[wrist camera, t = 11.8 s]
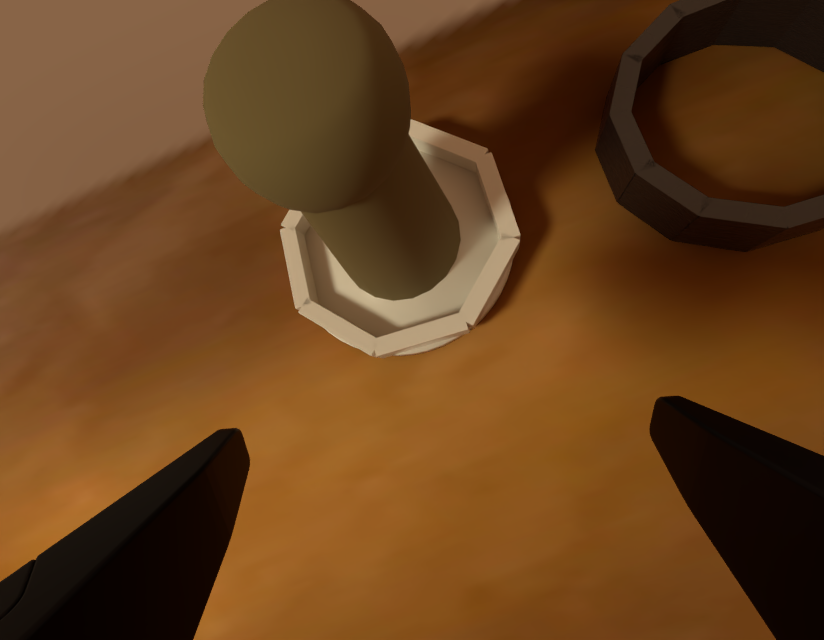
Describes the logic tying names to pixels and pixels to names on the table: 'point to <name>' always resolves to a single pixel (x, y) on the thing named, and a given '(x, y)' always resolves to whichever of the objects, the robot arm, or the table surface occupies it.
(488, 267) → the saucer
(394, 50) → the cork
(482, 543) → the table surface
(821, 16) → the dark grey ring
